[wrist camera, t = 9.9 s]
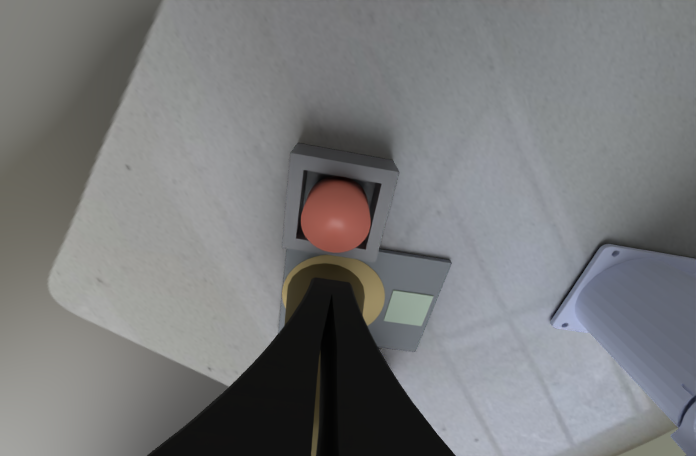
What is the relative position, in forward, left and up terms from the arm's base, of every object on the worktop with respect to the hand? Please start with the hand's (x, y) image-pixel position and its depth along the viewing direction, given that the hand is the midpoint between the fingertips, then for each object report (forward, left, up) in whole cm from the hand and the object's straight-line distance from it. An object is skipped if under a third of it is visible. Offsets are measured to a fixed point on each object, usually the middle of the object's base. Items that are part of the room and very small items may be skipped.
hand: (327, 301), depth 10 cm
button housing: (0, 0, -10) cm, 10 cm away
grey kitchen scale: (-3, +8, -10) cm, 14 cm away
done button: (0, 0, -9) cm, 9 cm away
